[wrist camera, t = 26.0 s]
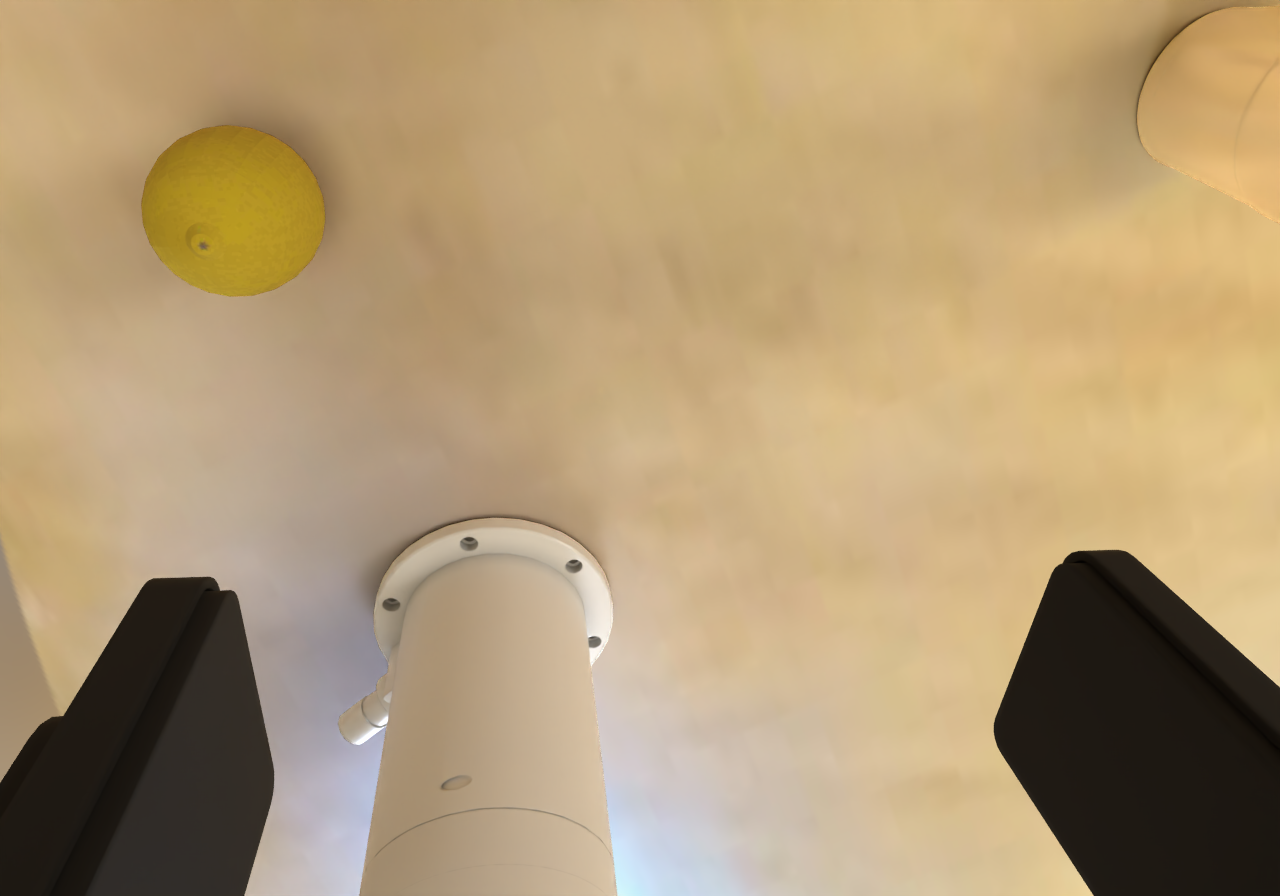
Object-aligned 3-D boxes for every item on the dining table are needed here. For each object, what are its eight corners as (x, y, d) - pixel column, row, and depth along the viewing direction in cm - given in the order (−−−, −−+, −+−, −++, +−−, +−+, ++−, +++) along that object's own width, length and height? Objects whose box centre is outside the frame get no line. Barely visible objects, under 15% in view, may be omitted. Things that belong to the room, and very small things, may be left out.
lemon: (217, 259, 33) (140, 337, 26) (169, 114, 30) (71, 158, 23) (356, 248, 34) (317, 321, 27) (323, 104, 31) (270, 144, 24)
